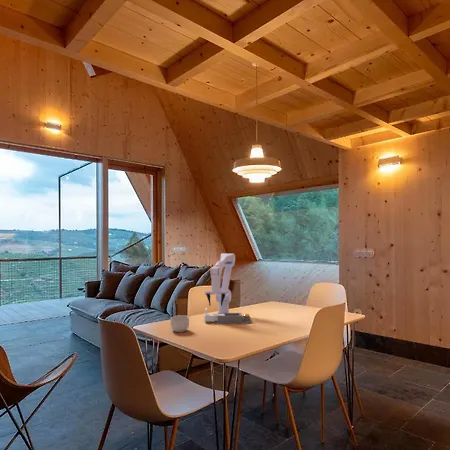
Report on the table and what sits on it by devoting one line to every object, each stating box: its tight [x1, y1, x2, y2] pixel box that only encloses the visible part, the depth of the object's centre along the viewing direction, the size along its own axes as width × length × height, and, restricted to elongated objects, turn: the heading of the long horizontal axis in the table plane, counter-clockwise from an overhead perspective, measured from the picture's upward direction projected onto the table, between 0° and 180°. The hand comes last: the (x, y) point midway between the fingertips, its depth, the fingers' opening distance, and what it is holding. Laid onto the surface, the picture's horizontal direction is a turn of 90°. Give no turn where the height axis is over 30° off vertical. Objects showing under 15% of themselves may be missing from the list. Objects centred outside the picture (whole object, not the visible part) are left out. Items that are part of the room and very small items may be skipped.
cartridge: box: [203, 307, 225, 322], centre depth 238 cm, size 6×13×7 cm, turn 94°
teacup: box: [169, 314, 190, 333], centre depth 216 cm, size 14×11×8 cm
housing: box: [213, 312, 252, 325], centre depth 238 cm, size 12×23×5 cm, turn 94°
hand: (215, 305), depth 244 cm, fingers open, 7 cm apart
